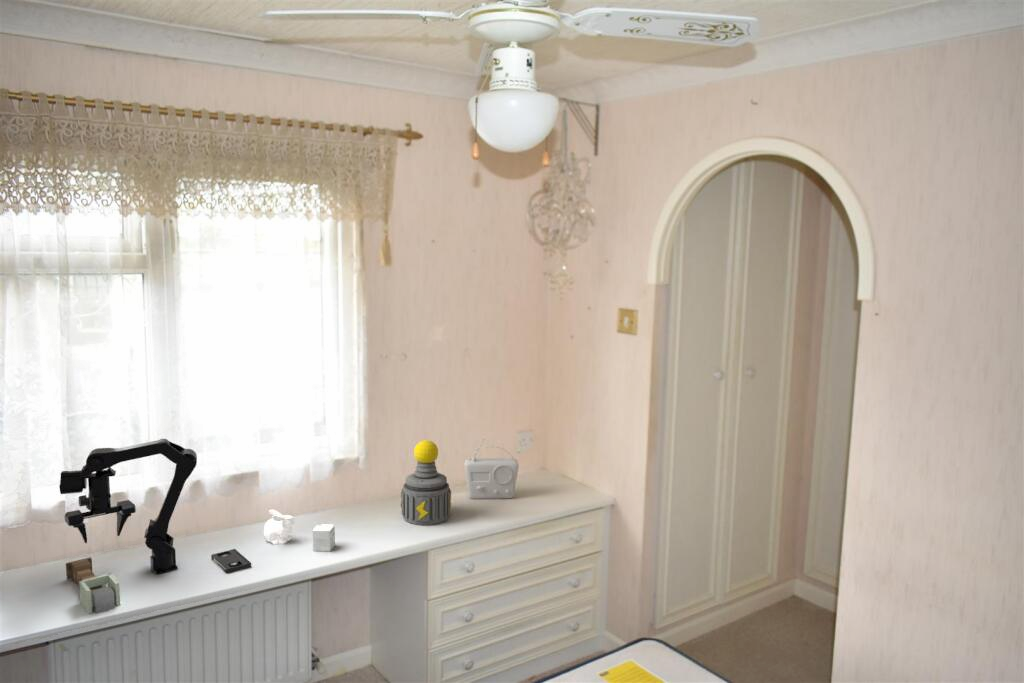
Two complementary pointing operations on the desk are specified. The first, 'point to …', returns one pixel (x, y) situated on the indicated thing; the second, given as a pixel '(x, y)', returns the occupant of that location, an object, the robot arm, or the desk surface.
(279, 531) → the rabbit
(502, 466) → the radio
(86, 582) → the cradle
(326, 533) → the skincare box
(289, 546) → the desk surface
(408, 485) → the decorative lamp
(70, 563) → the brown wooden stepped block
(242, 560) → the vhs tape
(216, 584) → the desk surface
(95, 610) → the block
